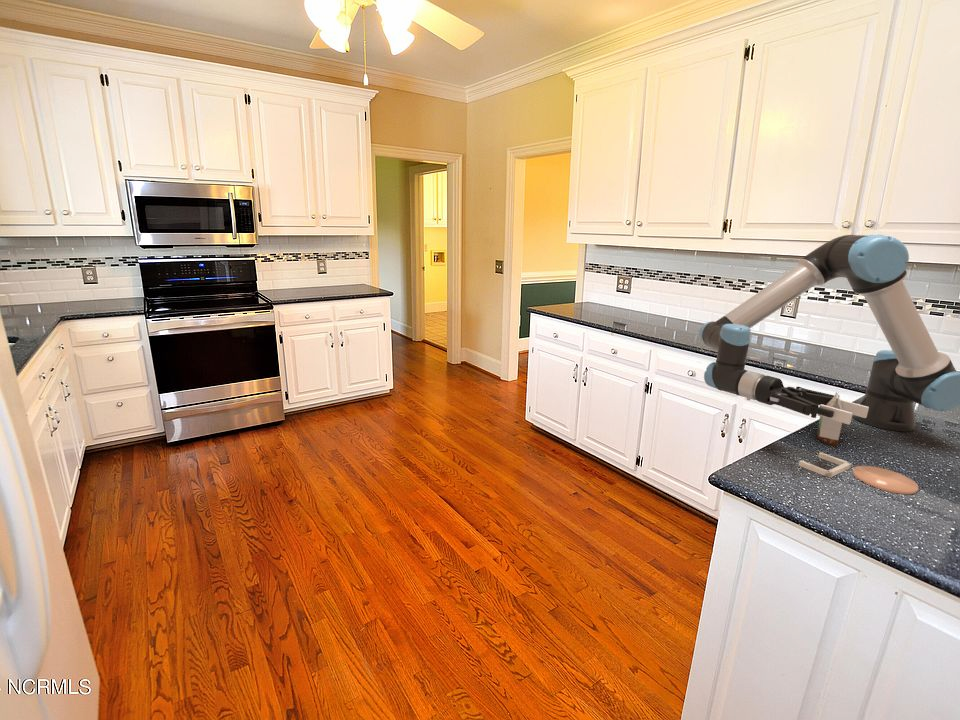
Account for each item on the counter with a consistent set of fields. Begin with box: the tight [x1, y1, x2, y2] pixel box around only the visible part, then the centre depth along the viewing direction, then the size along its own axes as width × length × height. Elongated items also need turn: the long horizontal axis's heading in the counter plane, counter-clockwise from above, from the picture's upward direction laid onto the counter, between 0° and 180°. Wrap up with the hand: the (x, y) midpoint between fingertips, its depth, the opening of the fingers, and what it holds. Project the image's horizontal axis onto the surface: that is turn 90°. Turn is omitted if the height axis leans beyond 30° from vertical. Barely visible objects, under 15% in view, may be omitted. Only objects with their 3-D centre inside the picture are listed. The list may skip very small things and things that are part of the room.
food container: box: [816, 416, 844, 448], centre depth 136 cm, size 12×6×10 cm, turn 141°
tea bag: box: [820, 391, 843, 440], centre depth 117 cm, size 4×7×10 cm, turn 144°
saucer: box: [852, 465, 919, 495], centre depth 114 cm, size 12×12×1 cm
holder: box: [797, 451, 853, 479], centre depth 120 cm, size 11×7×1 cm, turn 121°
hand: (858, 415), depth 112 cm, fingers closed on tea bag, 8 cm apart
